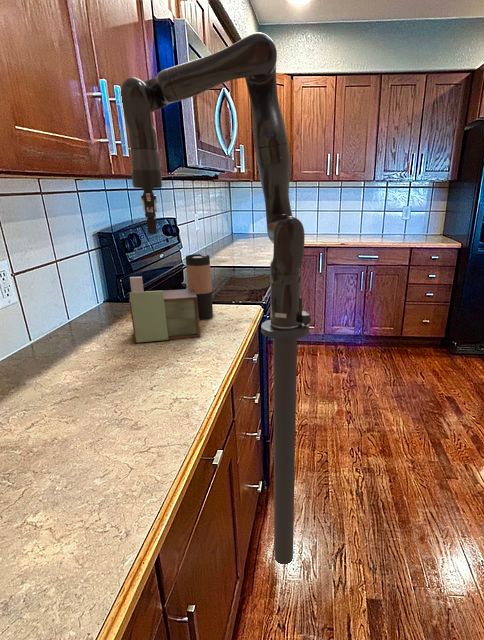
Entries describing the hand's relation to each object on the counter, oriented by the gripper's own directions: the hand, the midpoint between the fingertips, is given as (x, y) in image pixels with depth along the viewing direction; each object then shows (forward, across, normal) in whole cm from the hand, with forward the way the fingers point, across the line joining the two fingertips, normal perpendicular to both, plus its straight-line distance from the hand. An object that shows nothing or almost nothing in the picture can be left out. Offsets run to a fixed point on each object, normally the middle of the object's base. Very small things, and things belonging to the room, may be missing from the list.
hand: (152, 232), depth 118 cm
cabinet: (+29, -6, -1) cm, 29 cm away
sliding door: (+28, -11, +3) cm, 31 cm away
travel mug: (+29, +10, -13) cm, 33 cm away
